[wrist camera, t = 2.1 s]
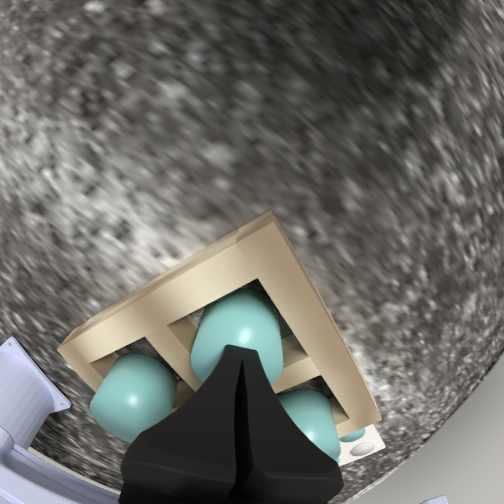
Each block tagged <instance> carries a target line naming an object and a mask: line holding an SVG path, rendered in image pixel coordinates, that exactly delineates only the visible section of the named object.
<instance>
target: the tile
mask: <svg viewBox="0 0 504 504" xmlns="http://www.w3.org/2000/svg"><path fill="white" fill-rule="evenodd" d="M339 443H340V447H341V454H340V456H339V457H338V459H337V460H336V461H337V462H338V465H339V466H341V465H344V464H347V463H349V462H352V461H355V460H357V459H360V458H362V457H365V456H367V455H369V454H372V453H374V452H376V451H379V450H381V449H383V448H385V444H384V442H383V440H382V439H381V437H380V435H379V433H378V431H377V430H376V428H375V426H374V424H371V425H369V426H367V427H365V428H362V429H360V430H358V431H356V432H353V433H351V434H348V435H346V436H344V437H341V438H339Z"/></svg>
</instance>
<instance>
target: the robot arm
mask: <svg viewBox="0 0 504 504" xmlns="http://www.w3.org/2000/svg"><path fill="white" fill-rule="evenodd" d="M70 407H71V402H70V401H69V400H68V399H67V398H66V397H65V396H64V395H63V394H62V393H61V392H60V391H59V390H58V389H57V387H56V386H55V385H54V384H53V383H52V382H51V381H50V380H49V379H48V378H47V377H46V375H45V374H44V373H43V372H42V371H41V370H40V369H39V367H38V366H37V365H36V364H35V363H34V361H33V360H32V359H31V358H30V357H29V355H28V354H27V353H26V352H25V350H24V349H23V348H22V346H21V345H20V344H19V343H18V341H17V340H16V339H15V338H14V337H12V336H11V337H10V338H9V339H8V340H7V341H6V342H5V343H4V344H3V345H2V346H0V504H327V502H328V501H330V500H331V499H332V498H333V497H335V496H336V495H337V494H338V493H339V492H340V491H341V490H342V489H343V486H344V483H343V478H342V474H341V471H340V468H339V465H338V462H337V461H335V460H334V459H332V458H331V457H330V456H329V455H327V454H326V453H325V452H323V451H322V450H321V449H320V448H318V447H317V446H316V445H315V444H314V443H313V442H312V441H311V440H310V439H309V438H308V437H307V436H306V435H305V434H304V433H303V432H302V431H301V430H300V429H299V427H298V426H297V425H296V424H295V423H294V421H293V420H292V419H291V418H290V416H289V415H288V413H287V412H286V411H285V409H284V408H283V406H282V404H281V403H280V401H279V399H278V398H277V396H276V394H275V392H274V390H273V388H272V386H271V384H270V382H269V380H268V378H267V376H266V373H265V371H264V368H263V366H262V363H261V360H260V357H259V354H258V352H257V350H254V349H249V348H244V347H239V346H235V345H230V344H227V345H225V348H224V351H223V354H222V356H221V358H220V360H219V362H218V363H217V365H216V366H215V368H214V369H213V371H212V373H211V374H210V375H209V377H208V378H207V379H206V380H205V382H204V383H203V384H202V385H201V387H200V388H199V389H198V390H197V391H196V392H195V393H194V394H193V395H192V396H191V397H190V398H189V399H188V400H187V401H186V402H185V403H184V404H182V405H181V406H180V407H179V408H178V409H177V410H175V411H174V412H173V413H171V414H170V415H168V416H167V417H166V418H164V419H163V420H161V421H160V422H158V423H157V424H155V425H153V426H151V427H149V428H148V429H146V430H144V431H142V432H141V433H140V434H139V435H138V436H137V437H136V439H135V440H134V441H133V442H132V444H131V445H130V447H129V448H128V450H127V451H126V453H125V455H124V458H123V461H122V464H121V469H120V470H121V474H122V478H123V481H124V485H123V488H122V491H121V494H120V495H118V494H115V493H112V492H110V491H108V490H105V489H102V488H100V487H97V486H95V485H93V484H90V483H88V482H86V481H84V480H81V479H79V478H77V477H75V476H73V475H71V474H69V473H66V472H64V471H63V470H61V469H59V468H57V467H55V466H53V465H51V464H49V463H47V462H46V461H44V460H42V459H40V458H38V457H37V456H35V455H33V454H32V453H30V452H28V451H27V449H28V448H29V446H30V444H31V443H32V441H33V439H34V438H35V436H36V434H37V433H38V431H39V429H40V428H41V426H42V425H43V423H44V421H45V420H46V418H47V417H48V415H49V413H53V412H57V411H60V410H64V409H67V408H70ZM420 504H449V503H448V500H447V498H446V495H441V496H438V497H435V498H432V499H428V500H426V501H424V502H422V503H420Z"/></svg>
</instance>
